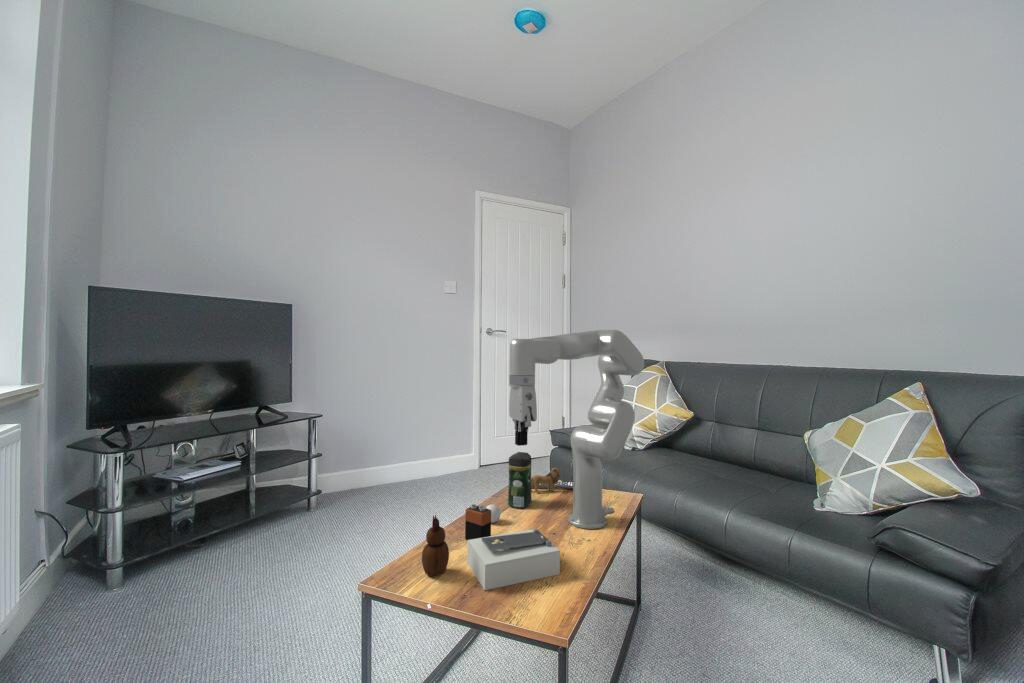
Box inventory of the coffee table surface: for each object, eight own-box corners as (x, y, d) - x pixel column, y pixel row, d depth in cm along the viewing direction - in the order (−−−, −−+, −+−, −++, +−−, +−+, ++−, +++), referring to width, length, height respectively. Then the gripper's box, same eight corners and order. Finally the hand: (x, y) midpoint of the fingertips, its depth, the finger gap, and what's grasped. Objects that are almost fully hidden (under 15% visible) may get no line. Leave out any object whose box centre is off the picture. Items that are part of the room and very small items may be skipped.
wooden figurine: (434, 582, 105) (435, 520, 105) (417, 575, 108) (418, 514, 108) (452, 570, 111) (453, 511, 111) (435, 564, 114) (436, 506, 114)
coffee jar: (512, 498, 164) (513, 449, 164) (533, 501, 162) (533, 451, 162) (505, 507, 155) (505, 455, 155) (526, 510, 152) (527, 457, 153)
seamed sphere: (483, 518, 145) (484, 501, 145) (500, 519, 144) (501, 502, 144) (481, 528, 137) (481, 510, 137) (499, 528, 137) (499, 510, 137)
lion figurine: (556, 488, 178) (557, 465, 178) (562, 492, 173) (563, 469, 173) (523, 491, 172) (524, 469, 173) (529, 496, 167) (529, 472, 168)
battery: (482, 545, 125) (482, 510, 125) (464, 539, 128) (464, 505, 129) (491, 540, 128) (492, 506, 128) (473, 534, 132) (474, 501, 132)
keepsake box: (535, 550, 122) (535, 522, 122) (559, 574, 109) (559, 543, 110) (467, 562, 115) (467, 533, 115) (484, 590, 102) (485, 556, 102)
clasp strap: (538, 534, 118) (539, 530, 118) (549, 543, 113) (549, 539, 113) (481, 541, 112) (481, 536, 112) (489, 551, 106) (489, 546, 106)
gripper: (545, 383, 120) (544, 449, 120) (523, 379, 134) (522, 438, 134) (520, 383, 117) (519, 451, 117) (500, 379, 131) (499, 440, 131)
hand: (521, 444), depth 125 cm, fingers closed
